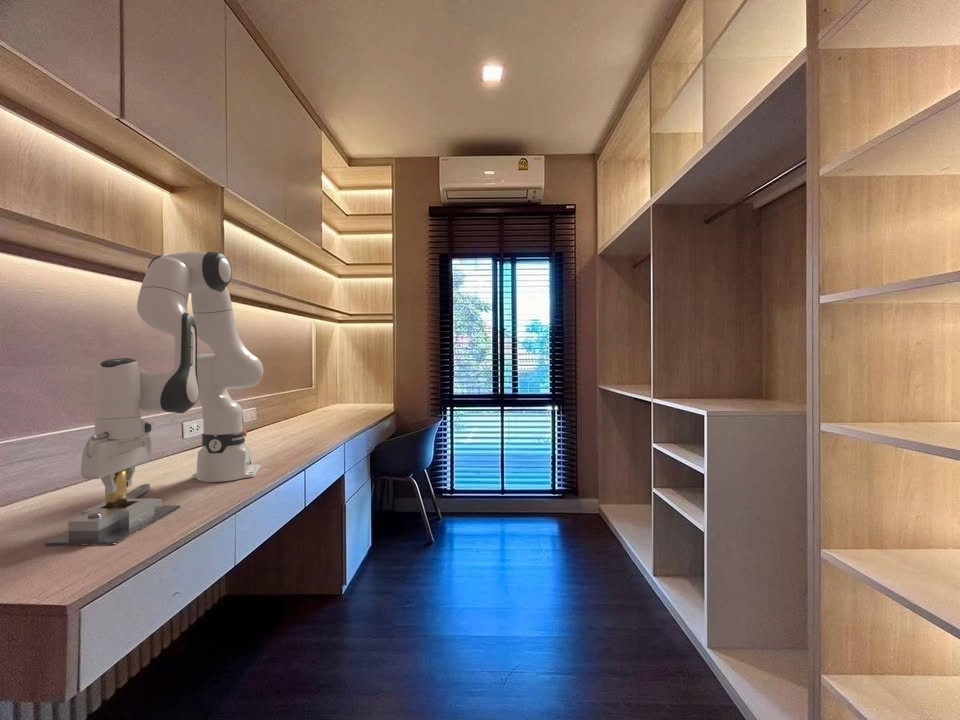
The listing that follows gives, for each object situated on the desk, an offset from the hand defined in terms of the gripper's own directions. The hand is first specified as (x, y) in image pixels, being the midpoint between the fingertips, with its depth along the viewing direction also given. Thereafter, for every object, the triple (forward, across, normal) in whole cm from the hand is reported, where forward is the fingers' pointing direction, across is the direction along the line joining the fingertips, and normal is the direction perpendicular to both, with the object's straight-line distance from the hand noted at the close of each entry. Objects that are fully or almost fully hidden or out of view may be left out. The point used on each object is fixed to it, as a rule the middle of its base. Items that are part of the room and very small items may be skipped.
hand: (118, 489), depth 122 cm
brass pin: (+5, 0, +1) cm, 5 cm away
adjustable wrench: (+8, +20, +8) cm, 23 cm away
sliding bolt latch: (+8, 0, 0) cm, 8 cm away
